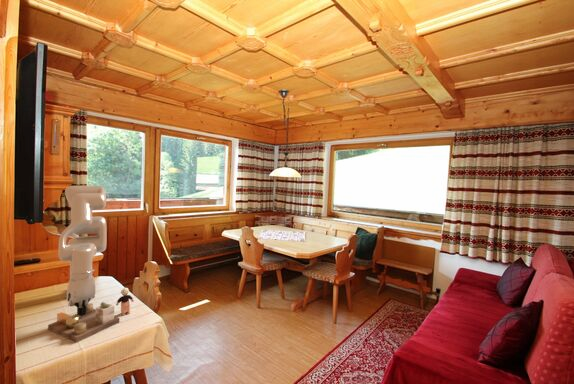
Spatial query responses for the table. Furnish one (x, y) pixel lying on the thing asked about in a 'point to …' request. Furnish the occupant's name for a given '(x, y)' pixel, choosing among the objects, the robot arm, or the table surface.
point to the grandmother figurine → (125, 302)
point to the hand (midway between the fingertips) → (81, 314)
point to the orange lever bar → (68, 320)
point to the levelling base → (88, 323)
